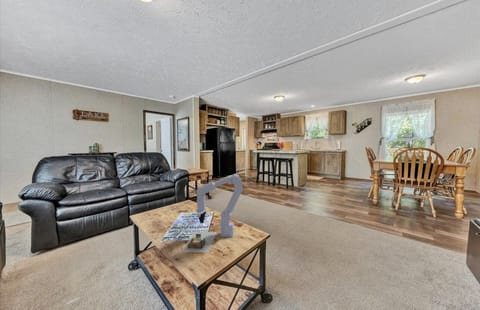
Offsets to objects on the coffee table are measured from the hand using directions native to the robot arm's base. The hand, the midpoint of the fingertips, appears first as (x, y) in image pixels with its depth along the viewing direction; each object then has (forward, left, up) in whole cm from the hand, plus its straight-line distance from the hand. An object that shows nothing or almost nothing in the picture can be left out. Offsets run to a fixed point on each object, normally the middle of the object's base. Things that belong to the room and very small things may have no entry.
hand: (201, 222), depth 120 cm
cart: (0, +11, -9) cm, 14 cm away
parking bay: (0, +11, -9) cm, 15 cm away
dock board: (-1, +7, -10) cm, 12 cm away
